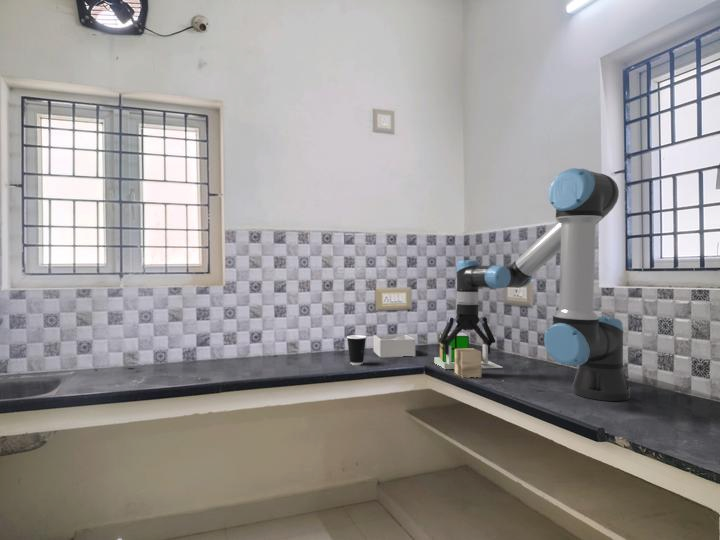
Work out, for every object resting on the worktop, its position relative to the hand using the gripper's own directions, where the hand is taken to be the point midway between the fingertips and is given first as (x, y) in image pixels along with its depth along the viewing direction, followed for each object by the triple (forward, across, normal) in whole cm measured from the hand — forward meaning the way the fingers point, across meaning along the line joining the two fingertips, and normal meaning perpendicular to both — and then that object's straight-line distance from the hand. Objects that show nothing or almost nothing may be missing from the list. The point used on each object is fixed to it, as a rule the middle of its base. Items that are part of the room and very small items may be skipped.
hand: (467, 363), depth 156 cm
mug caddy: (+5, +16, -46) cm, 49 cm away
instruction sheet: (+4, -14, -16) cm, 22 cm away
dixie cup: (+5, +36, -26) cm, 44 cm away
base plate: (+4, -1, -16) cm, 16 cm away
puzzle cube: (+2, -1, -16) cm, 16 cm away
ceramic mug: (+5, +14, -44) cm, 46 cm away
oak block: (+4, 0, 0) cm, 4 cm away
